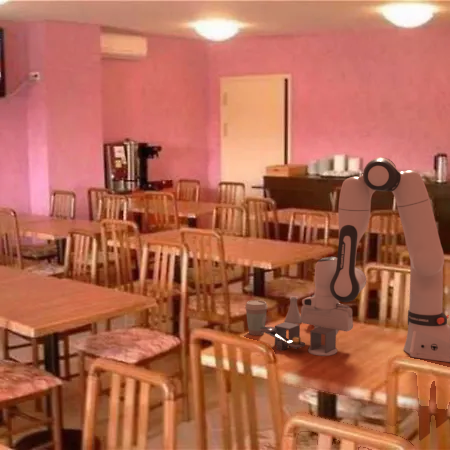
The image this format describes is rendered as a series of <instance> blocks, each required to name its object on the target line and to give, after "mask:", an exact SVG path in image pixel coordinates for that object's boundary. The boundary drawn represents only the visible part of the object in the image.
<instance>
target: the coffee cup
mask: <svg viewBox="0 0 450 450" xmlns="http://www.w3.org/2000/svg"><path fill="white" fill-rule="evenodd" d="M244 308H245V312H246V321H247V328H248V334H249V335H252V336H262V335H264V334H265V333H264V332H261V331H260V328H262V327H266V320H267V310H268V308H269V307H268V304H267V302H266V301H265V300H259V299H258V300H257V299H256V300H255V299H254V300H248V301H247V302H246V303H245V307H244Z"/></svg>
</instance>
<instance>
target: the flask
mask: <svg viewBox="0 0 450 450" xmlns="http://www.w3.org/2000/svg"><path fill="white" fill-rule="evenodd" d="M289 301H290V302H289V308H288V311H287V313H286V315H285V319H284V322H288V323H293V324H298V325H300V324H301V323H302V321H301V312H300V310H299V307H298V296H297V297H295V296H291V297H289ZM302 324H303V323H302Z"/></svg>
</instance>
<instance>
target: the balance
mask: <svg viewBox="0 0 450 450" xmlns="http://www.w3.org/2000/svg"><path fill="white" fill-rule="evenodd" d="M260 331H261V332H264V334H267V335H269V336H271V337H272V338H274V339H275V338H276V339H278V340H277V345H276V351H281V352H283V351H285V350H287V349H289V346H290V348H293V349H295V350H299V349H300V348H304V347H305V346H306V343H305V342H304V341H302V340H301V336H300V337H293V338H292V341H291V340H289V338H287V337H286V338H285V337H283V336H282V335H280V334H278V333H276V331H277V328H275V326H274V327H273V326H265V327H262V328H260Z"/></svg>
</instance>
